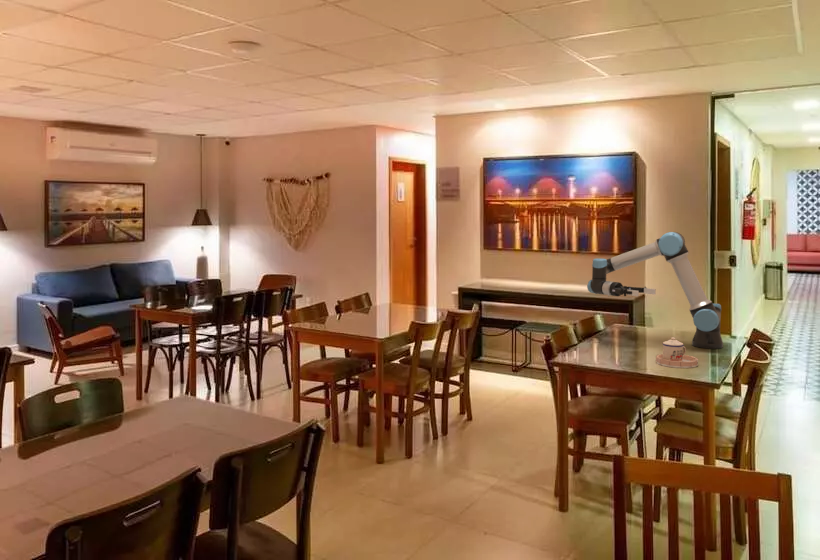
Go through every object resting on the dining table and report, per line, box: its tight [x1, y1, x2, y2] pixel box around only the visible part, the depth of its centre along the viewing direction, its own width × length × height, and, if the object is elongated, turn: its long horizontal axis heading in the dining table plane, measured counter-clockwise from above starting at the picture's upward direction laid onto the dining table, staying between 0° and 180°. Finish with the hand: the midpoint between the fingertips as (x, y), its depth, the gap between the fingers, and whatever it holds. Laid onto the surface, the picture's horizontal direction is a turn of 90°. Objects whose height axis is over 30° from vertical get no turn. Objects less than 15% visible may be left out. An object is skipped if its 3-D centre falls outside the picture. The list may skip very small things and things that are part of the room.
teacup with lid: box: [662, 337, 687, 362], centre depth 313 cm, size 12×9×12 cm
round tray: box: [655, 353, 699, 369], centre depth 313 cm, size 18×18×3 cm
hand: (646, 292), depth 341 cm, fingers open, 13 cm apart
